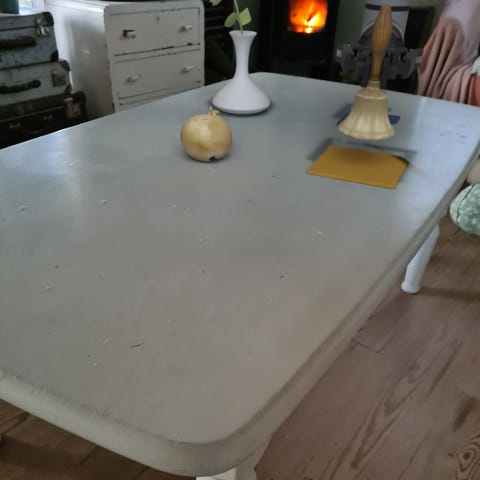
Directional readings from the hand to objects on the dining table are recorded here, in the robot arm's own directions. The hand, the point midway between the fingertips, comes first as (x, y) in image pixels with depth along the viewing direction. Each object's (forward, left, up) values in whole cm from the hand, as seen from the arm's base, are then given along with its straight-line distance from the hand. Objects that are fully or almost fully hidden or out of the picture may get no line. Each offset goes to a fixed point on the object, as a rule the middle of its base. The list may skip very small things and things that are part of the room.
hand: (374, 77), depth 67 cm
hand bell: (+5, -3, -9) cm, 10 cm away
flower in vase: (+38, +7, -14) cm, 41 cm away
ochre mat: (+5, -3, -14) cm, 15 cm away
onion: (+14, +19, -14) cm, 27 cm away
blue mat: (+27, -16, -14) cm, 34 cm away
